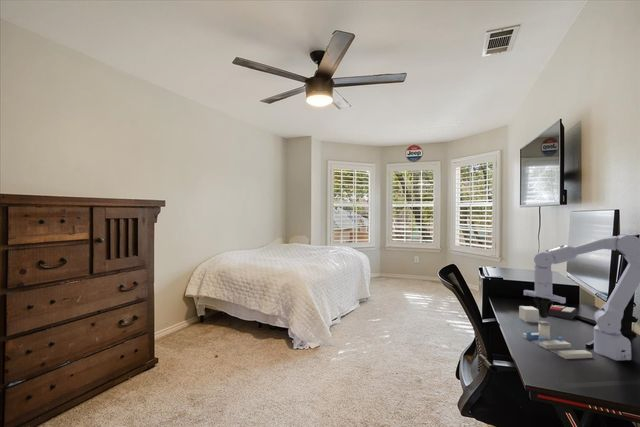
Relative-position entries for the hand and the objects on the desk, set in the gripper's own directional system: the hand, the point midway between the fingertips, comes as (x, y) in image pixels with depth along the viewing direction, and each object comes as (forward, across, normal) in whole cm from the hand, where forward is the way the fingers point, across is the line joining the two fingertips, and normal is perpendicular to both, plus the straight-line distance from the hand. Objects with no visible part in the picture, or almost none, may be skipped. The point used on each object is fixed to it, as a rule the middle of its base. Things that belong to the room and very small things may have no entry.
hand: (543, 317), depth 123 cm
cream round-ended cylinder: (+9, 0, 0) cm, 9 cm away
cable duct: (+10, -5, +2) cm, 12 cm away
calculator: (+11, +22, -47) cm, 53 cm away
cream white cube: (+11, +21, -24) cm, 34 cm away
